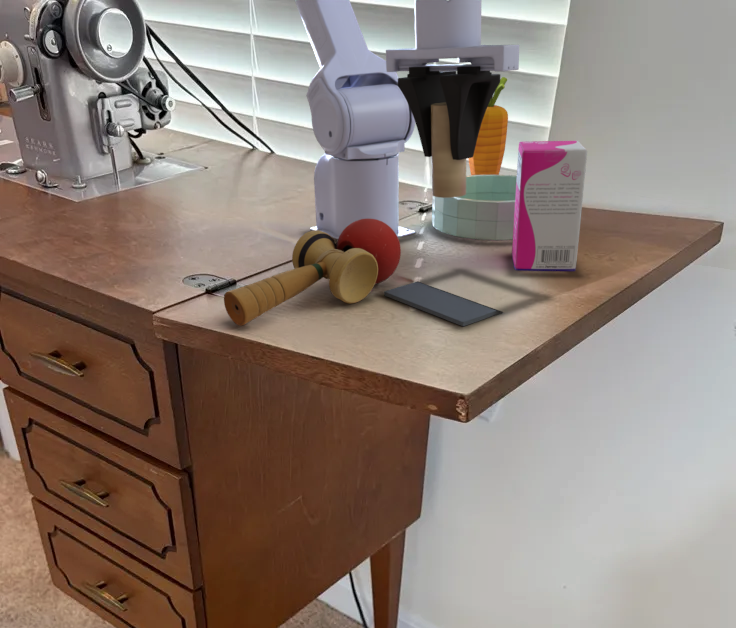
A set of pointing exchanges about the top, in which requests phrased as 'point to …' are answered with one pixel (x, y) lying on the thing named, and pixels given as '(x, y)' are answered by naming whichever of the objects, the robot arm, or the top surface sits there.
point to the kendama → (324, 269)
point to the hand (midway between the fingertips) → (448, 157)
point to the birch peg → (445, 157)
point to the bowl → (479, 209)
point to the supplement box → (548, 205)
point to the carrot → (491, 138)
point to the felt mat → (441, 303)
